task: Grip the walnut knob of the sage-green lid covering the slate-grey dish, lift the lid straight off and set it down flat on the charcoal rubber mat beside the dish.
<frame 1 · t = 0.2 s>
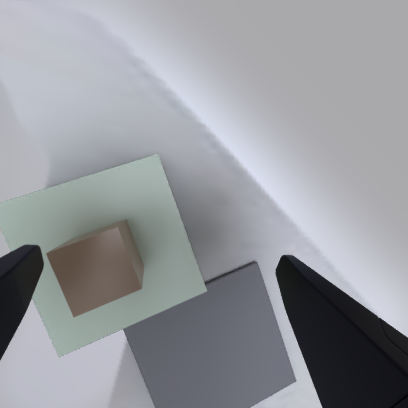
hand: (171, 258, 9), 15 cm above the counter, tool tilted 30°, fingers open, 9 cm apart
mat: (215, 352, 25), on the counter
lid: (111, 250, 19), point 4 cm above the counter, touching dish
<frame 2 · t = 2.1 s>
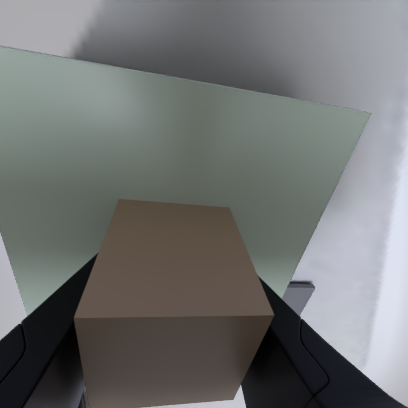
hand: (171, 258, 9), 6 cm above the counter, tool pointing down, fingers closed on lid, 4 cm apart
mat: (209, 338, 22), on the counter
lid: (171, 233, 10), point 4 cm above the counter, touching dish, gripper
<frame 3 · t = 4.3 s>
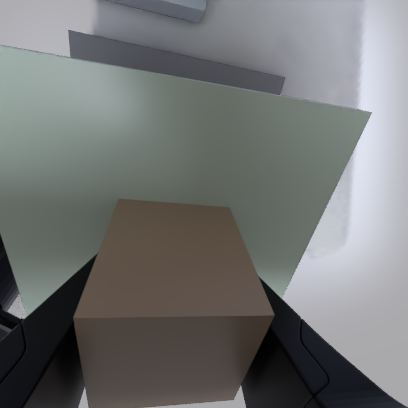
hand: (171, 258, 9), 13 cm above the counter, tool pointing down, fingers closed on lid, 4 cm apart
mat: (173, 157, 20), on the counter
lid: (171, 233, 10), point 11 cm above the counter, touching gripper
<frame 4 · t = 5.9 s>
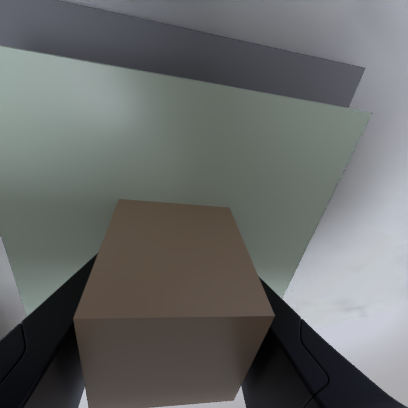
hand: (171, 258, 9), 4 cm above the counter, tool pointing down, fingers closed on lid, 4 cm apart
mat: (172, 200, 13), on the counter
lid: (171, 233, 10), point 3 cm above the counter, touching gripper
when the fingers open (3 cm above the counter, at t = 6.9 s): lid drops 1 cm, resting on mat.
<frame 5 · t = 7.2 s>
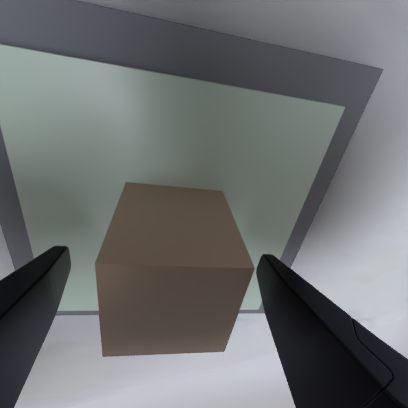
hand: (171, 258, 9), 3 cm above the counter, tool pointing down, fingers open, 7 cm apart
mat: (171, 211, 12), on the counter
lid: (171, 216, 11), resting on mat
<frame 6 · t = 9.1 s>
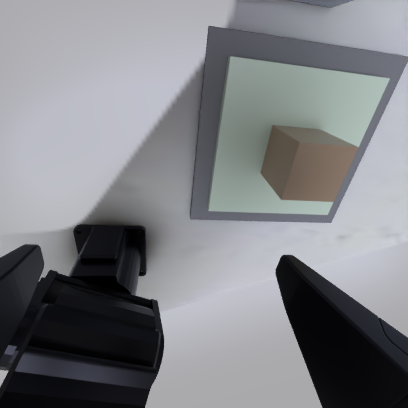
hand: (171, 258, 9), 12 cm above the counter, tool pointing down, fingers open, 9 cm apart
mat: (283, 147, 20), on the counter
lid: (285, 148, 20), resting on mat
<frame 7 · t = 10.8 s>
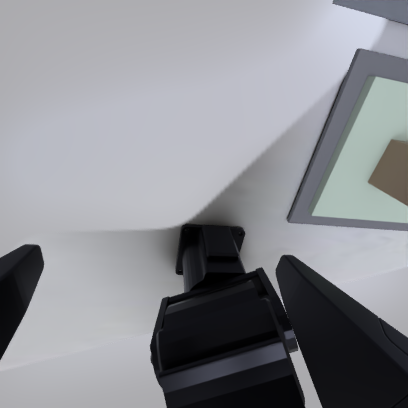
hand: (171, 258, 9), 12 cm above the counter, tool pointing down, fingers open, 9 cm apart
mat: (387, 159, 22), on the counter
lid: (390, 161, 22), resting on mat
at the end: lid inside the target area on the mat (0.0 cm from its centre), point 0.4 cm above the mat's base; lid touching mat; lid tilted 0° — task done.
